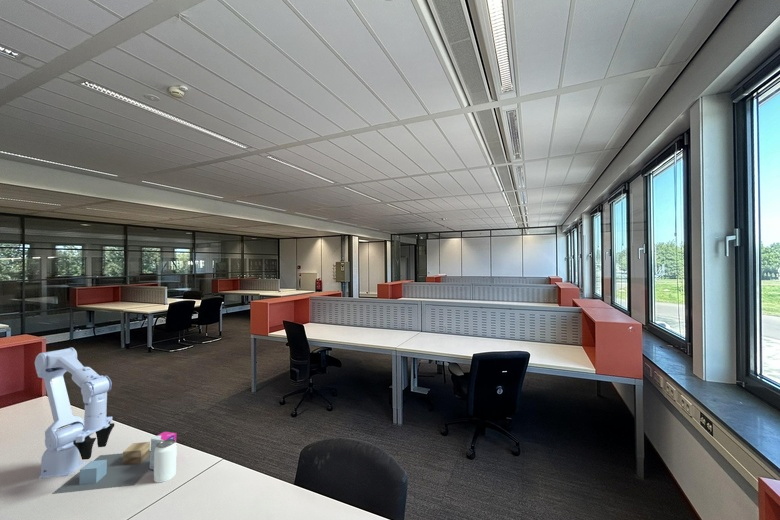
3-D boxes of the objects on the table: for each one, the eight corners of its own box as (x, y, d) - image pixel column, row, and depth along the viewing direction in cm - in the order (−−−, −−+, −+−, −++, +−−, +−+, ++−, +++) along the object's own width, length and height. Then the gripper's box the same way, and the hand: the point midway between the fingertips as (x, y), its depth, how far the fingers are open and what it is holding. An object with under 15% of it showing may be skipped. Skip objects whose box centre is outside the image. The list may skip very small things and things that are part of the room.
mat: (51, 494, 103) (51, 493, 103) (100, 456, 125) (100, 455, 125) (134, 485, 108) (134, 485, 108) (167, 449, 129) (167, 449, 129)
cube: (79, 484, 108) (79, 469, 108) (90, 475, 113) (90, 461, 113) (96, 483, 109) (96, 468, 109) (106, 473, 114) (106, 459, 114)
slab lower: (122, 465, 118) (122, 458, 118) (132, 456, 124) (132, 449, 124) (140, 463, 119) (140, 456, 120) (149, 454, 125) (149, 448, 125)
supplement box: (162, 472, 115) (163, 440, 115) (148, 470, 116) (149, 438, 116) (176, 463, 120) (176, 432, 121) (163, 461, 122) (163, 430, 122)
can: (180, 473, 114) (181, 440, 114) (162, 485, 108) (163, 449, 108) (167, 470, 116) (168, 436, 116) (149, 481, 110) (150, 446, 110)
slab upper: (122, 458, 118) (122, 451, 119) (132, 449, 124) (132, 443, 124) (140, 456, 120) (140, 450, 120) (149, 448, 125) (149, 441, 126)
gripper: (93, 421, 105) (92, 463, 105) (122, 403, 119) (120, 440, 119) (68, 423, 104) (67, 466, 103) (100, 405, 118) (99, 442, 118)
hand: (94, 452), depth 111 cm, fingers open, 7 cm apart
